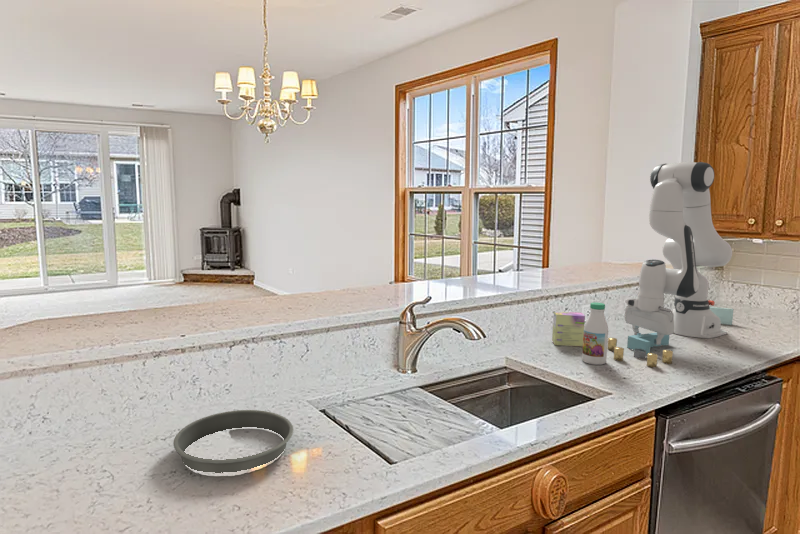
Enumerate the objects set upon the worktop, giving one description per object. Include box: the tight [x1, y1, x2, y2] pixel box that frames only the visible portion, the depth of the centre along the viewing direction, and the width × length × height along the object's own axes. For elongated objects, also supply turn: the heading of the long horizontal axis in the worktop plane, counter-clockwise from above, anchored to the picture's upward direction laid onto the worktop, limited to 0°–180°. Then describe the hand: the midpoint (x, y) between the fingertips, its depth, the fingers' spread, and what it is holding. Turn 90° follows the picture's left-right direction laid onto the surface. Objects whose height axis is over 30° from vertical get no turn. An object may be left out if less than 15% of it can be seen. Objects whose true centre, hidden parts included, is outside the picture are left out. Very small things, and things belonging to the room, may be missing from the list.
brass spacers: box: [607, 337, 674, 369], centre depth 183 cm, size 16×22×4 cm
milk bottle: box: [581, 301, 609, 366], centre depth 176 cm, size 8×8×20 cm
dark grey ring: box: [173, 409, 294, 473], centre depth 114 cm, size 25×25×4 cm
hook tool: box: [626, 332, 670, 355], centre depth 193 cm, size 18×8×4 cm, turn 112°
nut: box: [633, 349, 647, 359], centre depth 184 cm, size 4×4×2 cm
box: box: [551, 311, 586, 348], centre depth 197 cm, size 10×6×12 cm, turn 84°
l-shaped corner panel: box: [710, 306, 734, 326], centre depth 238 cm, size 12×12×8 cm
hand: (647, 340), depth 196 cm, fingers open, 8 cm apart
